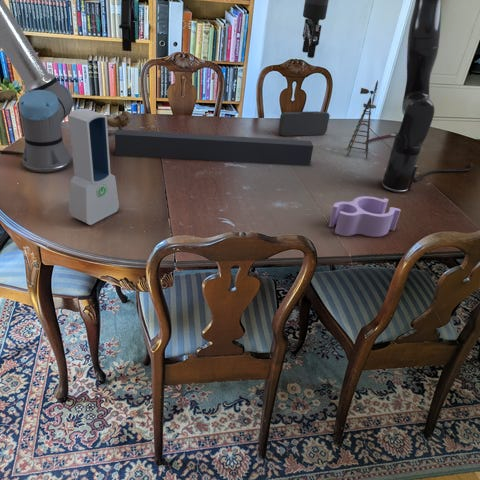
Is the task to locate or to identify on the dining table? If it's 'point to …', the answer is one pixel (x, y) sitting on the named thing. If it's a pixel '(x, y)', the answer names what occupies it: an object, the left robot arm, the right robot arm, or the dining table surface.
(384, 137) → the sword
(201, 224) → the dining table surface
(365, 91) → the miniature windmill
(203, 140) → the post
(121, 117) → the lion figurine
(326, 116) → the handheld gaming console
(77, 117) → the electronic device
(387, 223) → the clip
